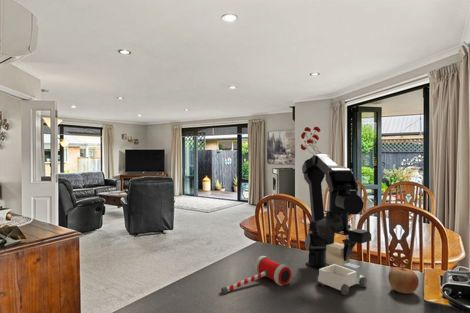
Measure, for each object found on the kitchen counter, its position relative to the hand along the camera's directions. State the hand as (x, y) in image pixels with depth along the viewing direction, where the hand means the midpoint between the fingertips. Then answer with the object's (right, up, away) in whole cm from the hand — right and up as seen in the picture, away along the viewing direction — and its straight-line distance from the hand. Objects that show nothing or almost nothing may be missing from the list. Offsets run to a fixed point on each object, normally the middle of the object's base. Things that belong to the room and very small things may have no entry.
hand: (337, 258), depth 94 cm
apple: (+19, -10, -3) cm, 21 cm away
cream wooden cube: (0, -1, 0) cm, 1 cm away
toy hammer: (-24, -9, +2) cm, 26 cm away
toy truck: (+1, -9, +1) cm, 9 cm away
